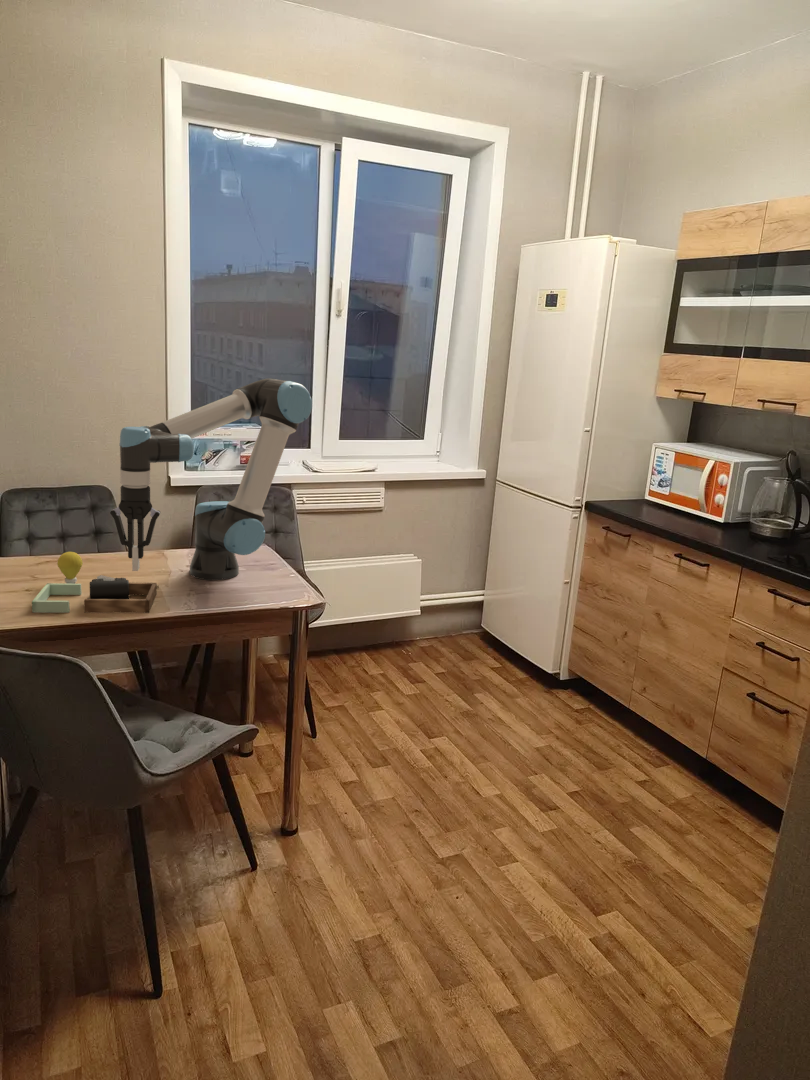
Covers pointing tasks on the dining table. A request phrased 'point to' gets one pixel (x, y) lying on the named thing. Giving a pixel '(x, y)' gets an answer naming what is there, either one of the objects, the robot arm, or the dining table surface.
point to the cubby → (125, 601)
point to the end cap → (109, 589)
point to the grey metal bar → (105, 578)
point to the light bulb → (70, 566)
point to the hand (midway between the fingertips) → (135, 569)
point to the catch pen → (46, 605)
